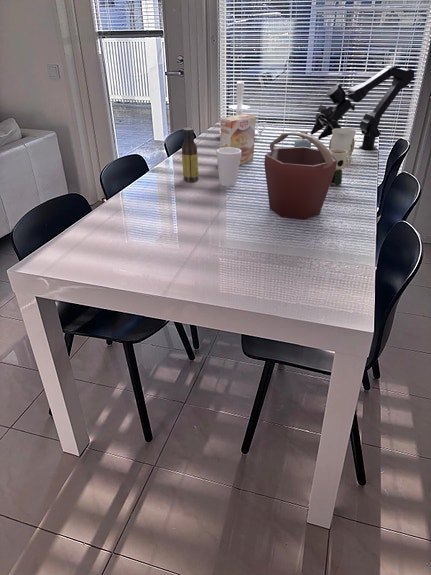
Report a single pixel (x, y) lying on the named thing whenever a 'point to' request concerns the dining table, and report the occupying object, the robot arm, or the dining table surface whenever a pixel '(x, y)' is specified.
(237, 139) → the coffeecake box
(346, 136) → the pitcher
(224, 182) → the foam cup
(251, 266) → the dining table surface
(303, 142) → the tiered round stand
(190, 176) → the sauce bottle
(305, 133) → the knob
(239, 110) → the candlestick
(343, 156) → the character mug
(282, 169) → the bucket
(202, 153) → the dining table surface
